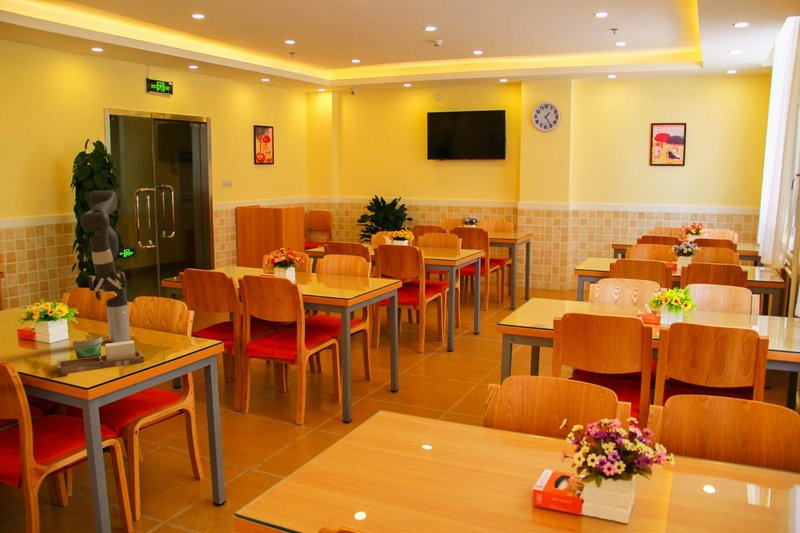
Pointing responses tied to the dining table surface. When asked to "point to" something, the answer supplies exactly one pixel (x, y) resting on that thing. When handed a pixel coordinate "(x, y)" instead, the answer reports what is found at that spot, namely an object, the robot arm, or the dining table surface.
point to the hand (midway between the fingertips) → (110, 298)
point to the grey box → (120, 350)
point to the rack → (95, 363)
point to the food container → (88, 348)
